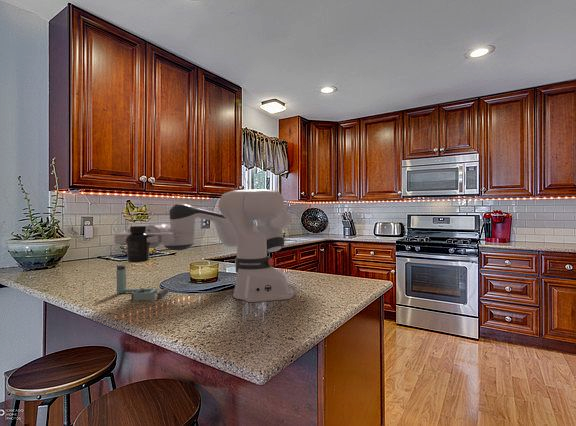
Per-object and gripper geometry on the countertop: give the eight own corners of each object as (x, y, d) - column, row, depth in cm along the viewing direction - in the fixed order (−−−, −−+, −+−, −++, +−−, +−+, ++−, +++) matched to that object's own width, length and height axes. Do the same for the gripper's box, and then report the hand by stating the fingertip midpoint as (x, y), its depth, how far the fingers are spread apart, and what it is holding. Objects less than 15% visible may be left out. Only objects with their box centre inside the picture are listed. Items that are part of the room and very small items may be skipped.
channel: (168, 292, 124) (168, 287, 124) (160, 298, 116) (160, 293, 116) (140, 293, 124) (140, 288, 124) (131, 299, 116) (131, 293, 116)
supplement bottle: (153, 260, 111) (153, 225, 111) (135, 263, 106) (134, 226, 105) (141, 259, 115) (141, 225, 115) (123, 261, 109) (122, 226, 109)
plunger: (166, 290, 127) (165, 264, 127) (153, 299, 114) (152, 271, 114) (119, 291, 126) (119, 265, 126) (102, 300, 114) (101, 272, 113)
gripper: (180, 244, 123) (167, 249, 109) (125, 245, 123) (106, 250, 109) (179, 227, 123) (167, 230, 109) (125, 228, 122) (105, 231, 109)
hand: (136, 240), depth 109 cm, fingers closed on supplement bottle, 7 cm apart
